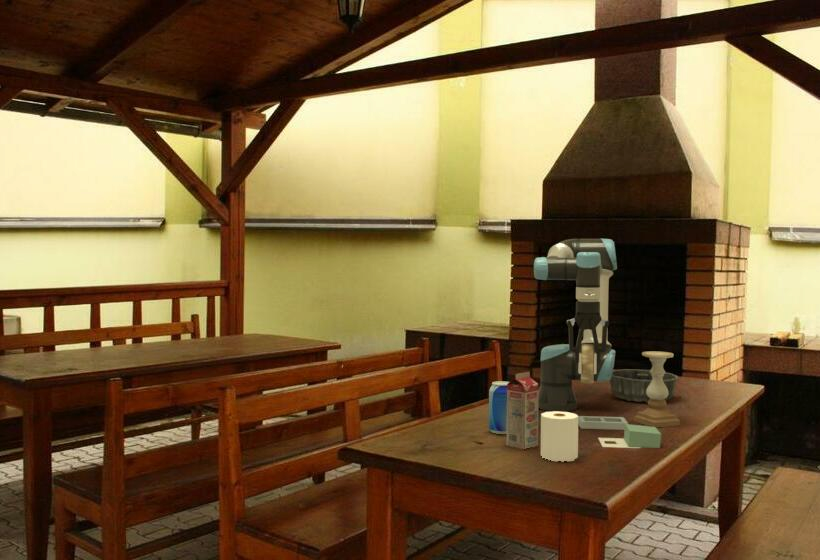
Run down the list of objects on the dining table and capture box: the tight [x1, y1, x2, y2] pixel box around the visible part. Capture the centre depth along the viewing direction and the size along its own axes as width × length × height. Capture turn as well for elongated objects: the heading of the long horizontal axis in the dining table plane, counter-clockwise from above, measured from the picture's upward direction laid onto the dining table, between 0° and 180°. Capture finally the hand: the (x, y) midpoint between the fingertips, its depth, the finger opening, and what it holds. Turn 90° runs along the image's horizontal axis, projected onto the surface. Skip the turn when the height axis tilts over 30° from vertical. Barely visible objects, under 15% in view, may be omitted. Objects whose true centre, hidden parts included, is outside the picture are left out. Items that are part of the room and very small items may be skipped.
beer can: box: [488, 380, 510, 435], centre depth 243 cm, size 8×8×16 cm
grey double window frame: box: [577, 415, 629, 431], centre depth 251 cm, size 15×9×2 cm, turn 83°
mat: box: [597, 437, 642, 449], centre depth 229 cm, size 11×11×1 cm
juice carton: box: [506, 371, 540, 449], centre depth 226 cm, size 7×7×22 cm
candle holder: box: [633, 350, 681, 429], centre depth 256 cm, size 11×11×24 cm
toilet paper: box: [540, 411, 579, 463], centre depth 214 cm, size 10×10×12 cm
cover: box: [623, 423, 662, 449], centre depth 228 cm, size 9×9×4 cm
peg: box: [580, 344, 595, 384], centre depth 243 cm, size 4×4×12 cm
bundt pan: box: [609, 368, 679, 404], centre depth 299 cm, size 26×26×10 cm
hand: (587, 373), depth 243 cm, fingers closed on peg, 4 cm apart
